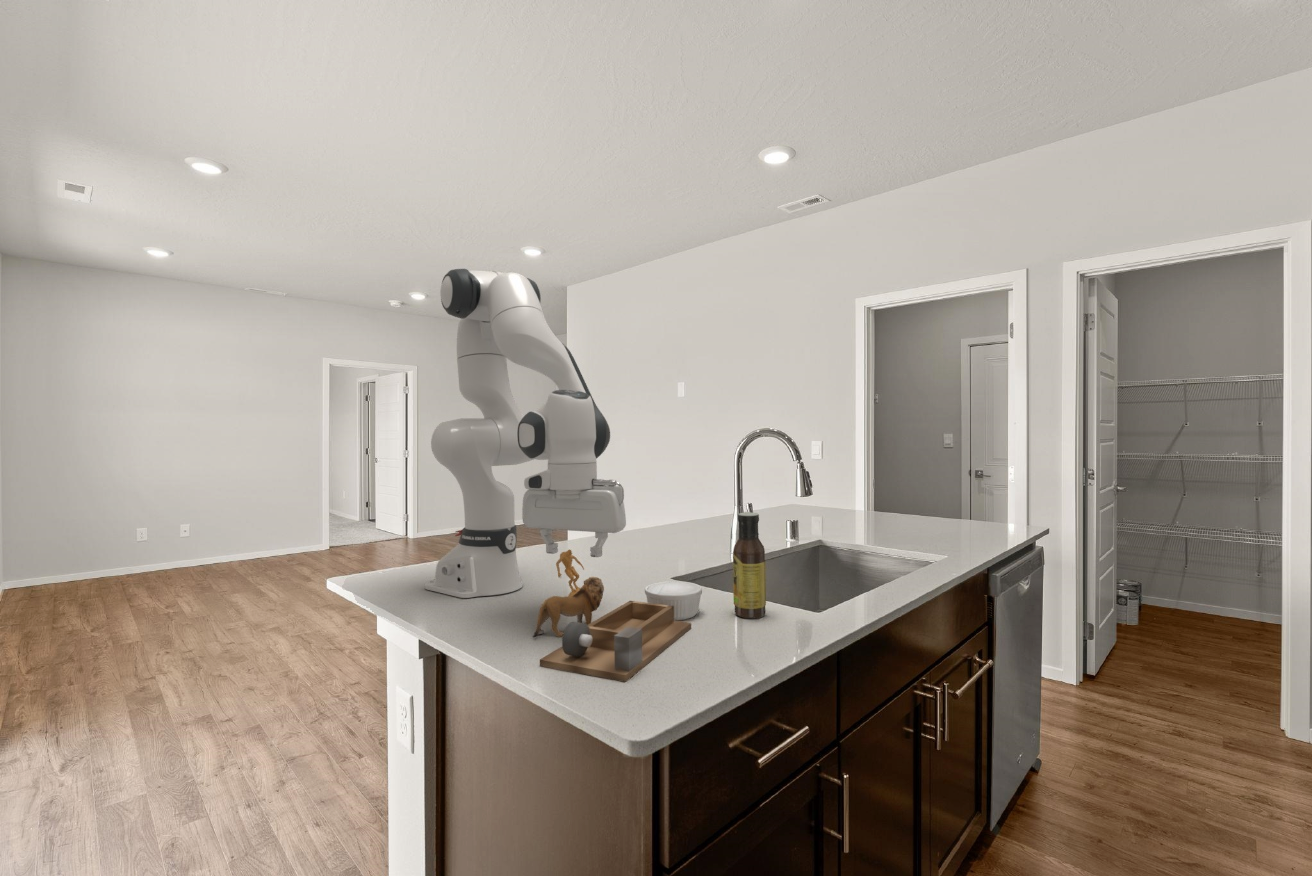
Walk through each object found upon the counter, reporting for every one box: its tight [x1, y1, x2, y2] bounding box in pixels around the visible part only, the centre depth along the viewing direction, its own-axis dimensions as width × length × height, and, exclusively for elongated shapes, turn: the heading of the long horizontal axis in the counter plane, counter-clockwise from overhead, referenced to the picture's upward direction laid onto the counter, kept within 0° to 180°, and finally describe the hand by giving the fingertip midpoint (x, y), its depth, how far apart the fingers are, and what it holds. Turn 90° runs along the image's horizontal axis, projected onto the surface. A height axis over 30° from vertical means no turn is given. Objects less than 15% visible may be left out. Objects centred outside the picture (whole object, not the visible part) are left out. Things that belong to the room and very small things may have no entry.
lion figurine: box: [532, 576, 605, 638], centre depth 113 cm, size 15×5×9 cm, turn 130°
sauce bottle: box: [732, 511, 767, 619], centre depth 121 cm, size 6×6×20 cm
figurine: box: [555, 548, 585, 597], centre depth 127 cm, size 8×6×12 cm
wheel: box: [561, 621, 592, 657], centre depth 97 cm, size 3×5×5 cm
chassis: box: [539, 600, 692, 683], centre depth 105 cm, size 15×26×6 cm, turn 155°
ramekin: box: [644, 580, 703, 621], centre depth 123 cm, size 11×11×5 cm
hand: (573, 554), depth 113 cm, fingers open, 8 cm apart
